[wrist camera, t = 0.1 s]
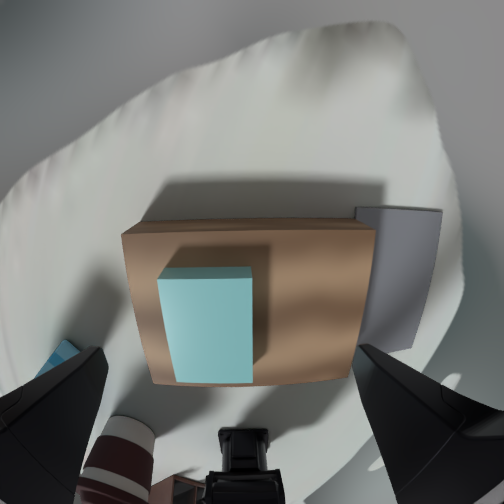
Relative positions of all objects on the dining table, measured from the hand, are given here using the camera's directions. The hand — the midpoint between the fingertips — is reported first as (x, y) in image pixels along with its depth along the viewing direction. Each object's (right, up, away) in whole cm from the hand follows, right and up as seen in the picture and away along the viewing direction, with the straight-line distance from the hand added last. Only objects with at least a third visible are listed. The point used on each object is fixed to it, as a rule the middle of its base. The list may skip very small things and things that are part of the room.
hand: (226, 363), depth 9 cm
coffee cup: (-16, -21, +22) cm, 35 cm away
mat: (+15, 0, +16) cm, 22 cm away
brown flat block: (+1, 0, +16) cm, 16 cm away
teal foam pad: (-2, -2, +12) cm, 12 cm away
